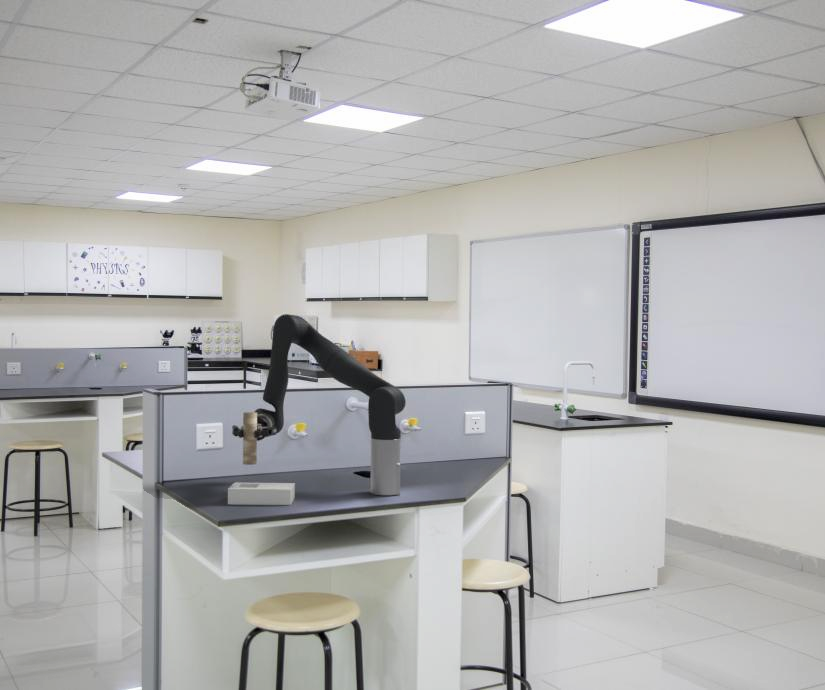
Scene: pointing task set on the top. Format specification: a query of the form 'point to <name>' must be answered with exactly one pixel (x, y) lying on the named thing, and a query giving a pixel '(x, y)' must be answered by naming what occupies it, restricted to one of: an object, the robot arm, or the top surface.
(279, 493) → the hole block
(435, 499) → the top surface
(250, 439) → the birch peg
